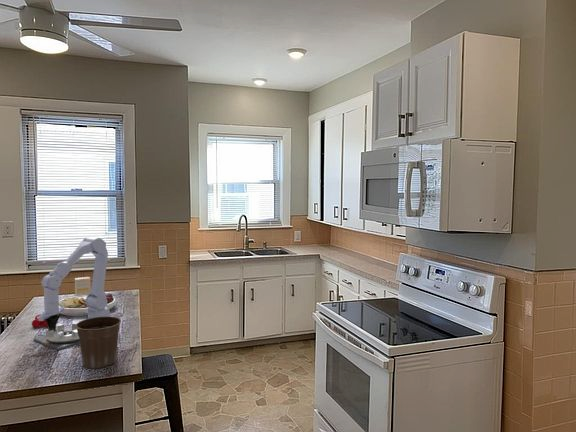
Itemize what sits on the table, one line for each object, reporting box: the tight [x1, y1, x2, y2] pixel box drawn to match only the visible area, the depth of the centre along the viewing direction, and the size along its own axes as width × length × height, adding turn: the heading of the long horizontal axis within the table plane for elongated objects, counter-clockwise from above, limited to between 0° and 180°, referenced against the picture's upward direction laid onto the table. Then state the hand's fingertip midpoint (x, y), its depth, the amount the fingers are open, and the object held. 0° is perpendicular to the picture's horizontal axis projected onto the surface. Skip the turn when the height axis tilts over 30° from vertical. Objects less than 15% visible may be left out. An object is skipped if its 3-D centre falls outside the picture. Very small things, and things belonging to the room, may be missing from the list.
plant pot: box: [76, 316, 122, 370], centre depth 171 cm, size 16×16×16 cm
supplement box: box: [74, 276, 91, 297], centre depth 264 cm, size 8×5×13 cm, turn 120°
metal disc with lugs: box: [45, 321, 80, 343], centre depth 196 cm, size 17×17×4 cm
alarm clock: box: [31, 313, 59, 329], centre depth 216 cm, size 10×6×15 cm
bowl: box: [59, 292, 116, 317], centre depth 243 cm, size 30×30×8 cm
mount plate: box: [33, 334, 80, 351], centre depth 197 cm, size 20×20×1 cm
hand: (52, 331), depth 196 cm, fingers closed
